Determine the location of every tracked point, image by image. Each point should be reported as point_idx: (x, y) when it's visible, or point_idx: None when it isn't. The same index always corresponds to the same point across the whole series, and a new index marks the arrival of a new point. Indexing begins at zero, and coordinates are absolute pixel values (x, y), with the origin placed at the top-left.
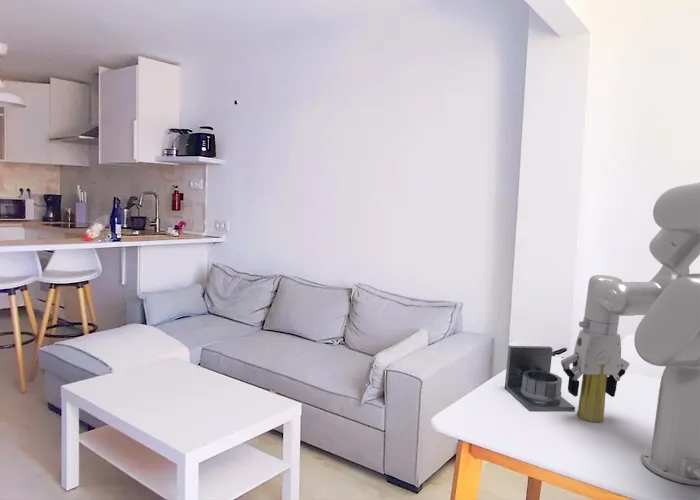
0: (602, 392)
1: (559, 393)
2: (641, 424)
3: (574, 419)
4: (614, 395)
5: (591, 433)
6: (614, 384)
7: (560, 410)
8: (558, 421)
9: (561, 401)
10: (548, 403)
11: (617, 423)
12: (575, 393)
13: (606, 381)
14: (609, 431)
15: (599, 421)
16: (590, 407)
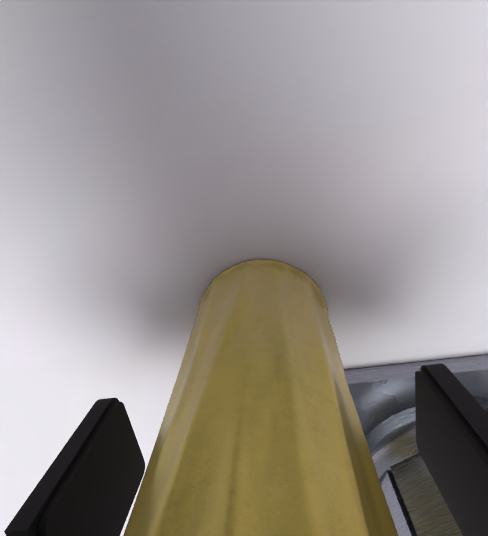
0: (214, 379)
1: (401, 472)
2: (25, 273)
3: (363, 280)
4: (95, 404)
5: (354, 103)
6: (48, 493)
7: (392, 366)
8: (476, 241)
9: None
10: None
11: (144, 266)
12: (454, 379)
13: (129, 523)
14: (228, 155)
15: (239, 263)
16: (299, 304)
